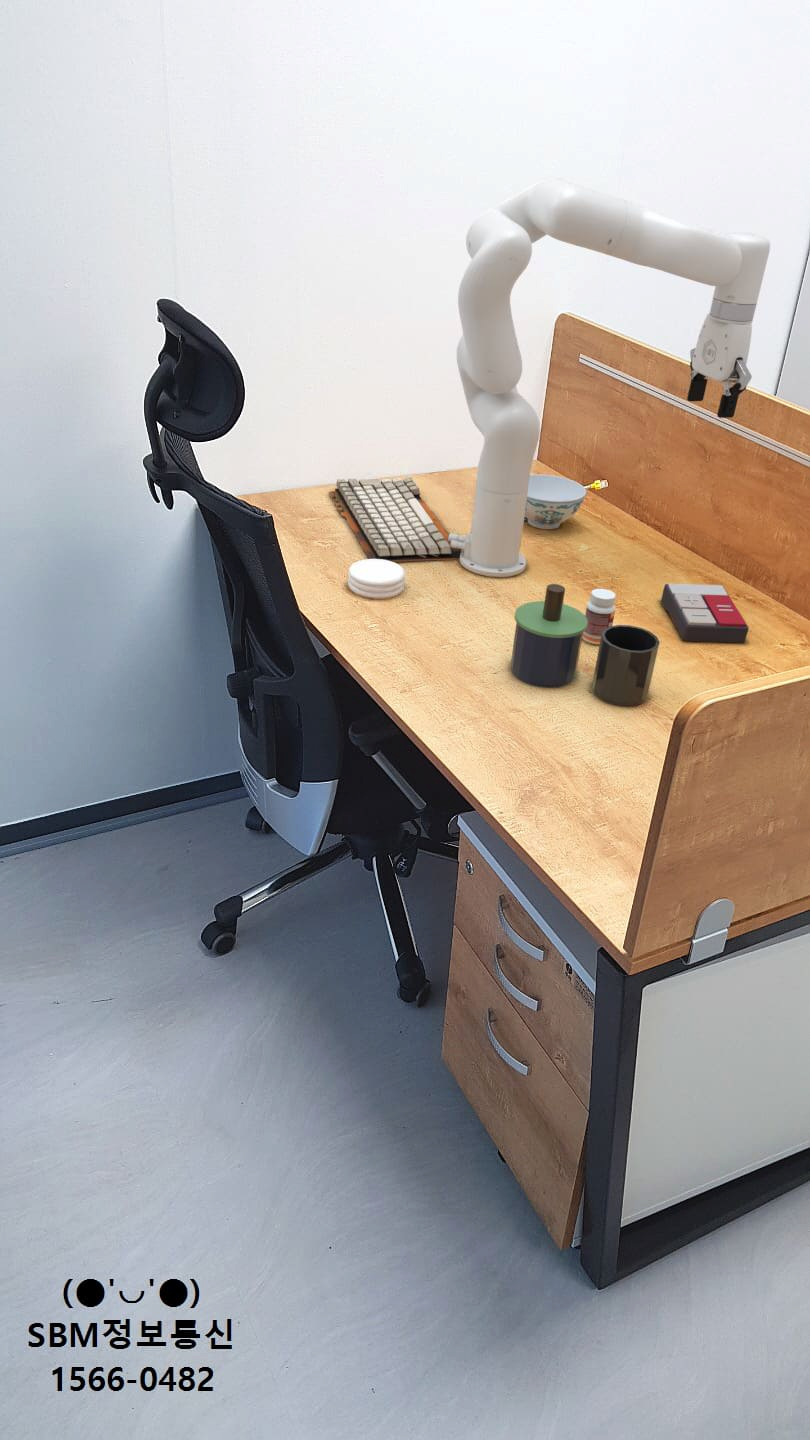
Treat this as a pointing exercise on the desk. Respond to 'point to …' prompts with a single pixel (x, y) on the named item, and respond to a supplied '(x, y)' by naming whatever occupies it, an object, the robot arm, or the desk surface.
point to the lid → (551, 616)
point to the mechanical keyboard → (392, 520)
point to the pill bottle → (599, 614)
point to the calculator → (704, 613)
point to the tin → (544, 658)
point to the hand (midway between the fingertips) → (709, 408)
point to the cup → (625, 665)
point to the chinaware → (552, 500)
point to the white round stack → (376, 578)
